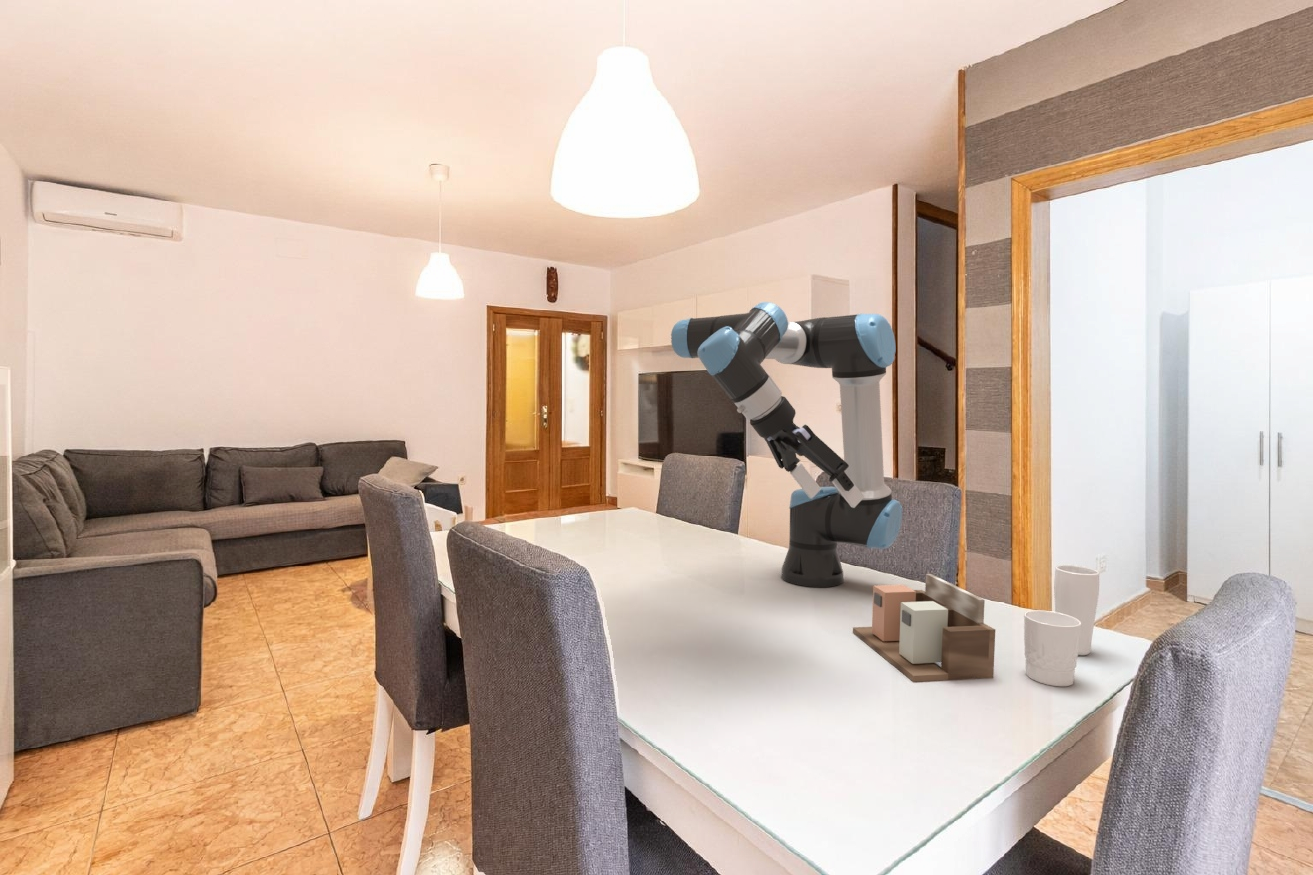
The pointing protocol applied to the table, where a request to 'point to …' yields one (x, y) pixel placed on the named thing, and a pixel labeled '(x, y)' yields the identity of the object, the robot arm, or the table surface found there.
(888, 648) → the wooden rack
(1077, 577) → the drinking glass
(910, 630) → the cream rectangular block
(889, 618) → the peach rectangular block
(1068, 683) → the white cup
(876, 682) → the table surface
